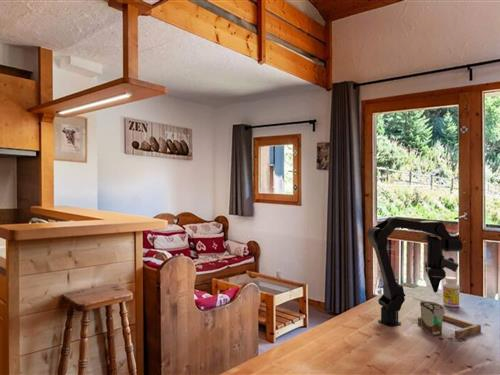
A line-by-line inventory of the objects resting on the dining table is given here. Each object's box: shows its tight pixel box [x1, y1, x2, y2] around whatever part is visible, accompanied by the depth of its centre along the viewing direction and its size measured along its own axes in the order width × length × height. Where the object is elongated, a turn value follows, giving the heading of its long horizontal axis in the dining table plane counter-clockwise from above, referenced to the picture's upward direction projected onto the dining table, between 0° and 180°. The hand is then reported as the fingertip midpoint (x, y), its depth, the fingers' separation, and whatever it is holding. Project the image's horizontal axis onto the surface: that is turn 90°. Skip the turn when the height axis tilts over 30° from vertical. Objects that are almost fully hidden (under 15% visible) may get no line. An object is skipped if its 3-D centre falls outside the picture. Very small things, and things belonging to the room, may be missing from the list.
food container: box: [419, 300, 446, 337], centre depth 142 cm, size 12×6×10 cm, turn 179°
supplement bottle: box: [442, 276, 460, 308], centre depth 173 cm, size 7×7×13 cm
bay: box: [417, 314, 482, 339], centre depth 146 cm, size 14×17×2 cm
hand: (434, 289), depth 152 cm, fingers open, 9 cm apart
